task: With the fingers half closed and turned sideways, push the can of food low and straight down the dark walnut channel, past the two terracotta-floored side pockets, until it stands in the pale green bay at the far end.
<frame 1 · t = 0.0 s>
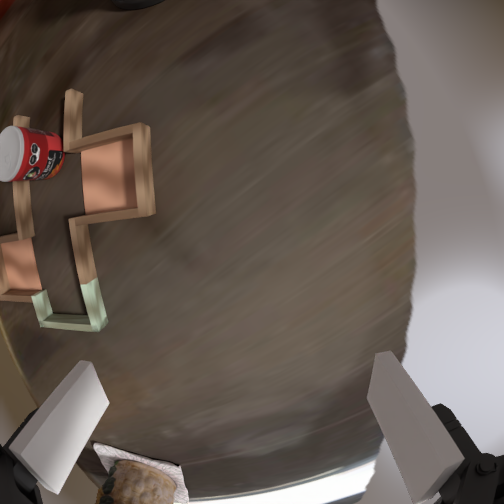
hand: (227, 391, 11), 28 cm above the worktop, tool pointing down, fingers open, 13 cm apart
canned food: (51, 156, 35), on the worktop
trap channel: (53, 208, 37), on the worktop
cookie jar: (144, 473, 53), on the worktop
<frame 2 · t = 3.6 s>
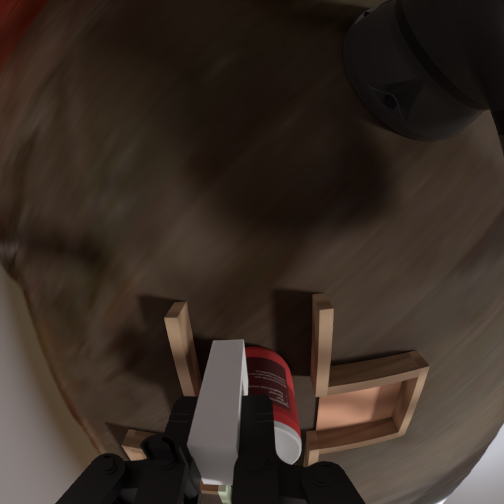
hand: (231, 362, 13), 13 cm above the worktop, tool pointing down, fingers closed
canned food: (255, 372, 28), on the worktop
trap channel: (259, 425, 30), on the worktop
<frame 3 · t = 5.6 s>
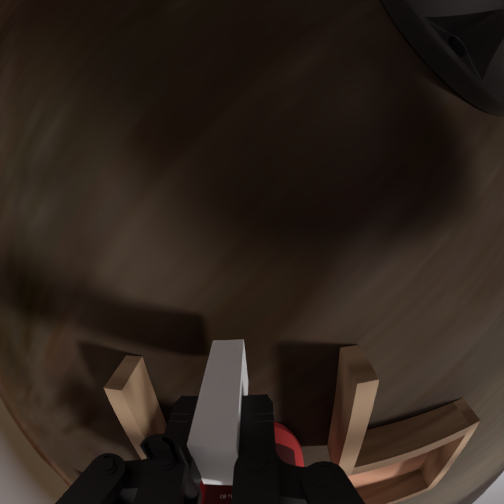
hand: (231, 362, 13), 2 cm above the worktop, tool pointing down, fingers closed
canned food: (250, 444, 18), on the worktop
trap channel: (257, 491, 20), on the worktop
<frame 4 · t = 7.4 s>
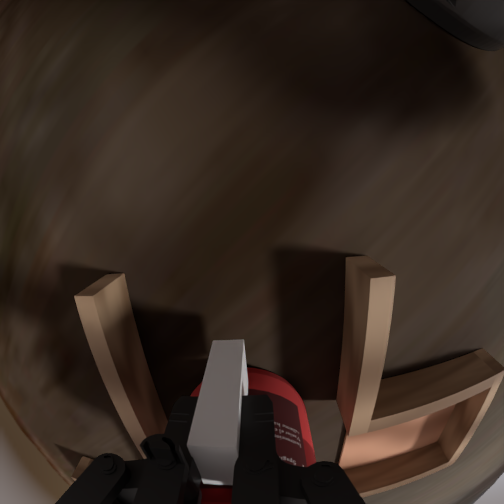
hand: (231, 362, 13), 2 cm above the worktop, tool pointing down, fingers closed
canned food: (246, 406, 17), on the worktop, touching gripper
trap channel: (256, 467, 18), on the worktop
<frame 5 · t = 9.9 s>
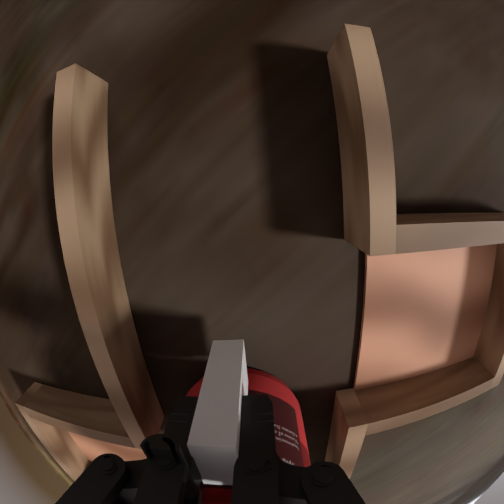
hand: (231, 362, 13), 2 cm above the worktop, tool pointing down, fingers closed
canned food: (242, 406, 17), on the worktop, touching gripper
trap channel: (241, 376, 16), on the worktop
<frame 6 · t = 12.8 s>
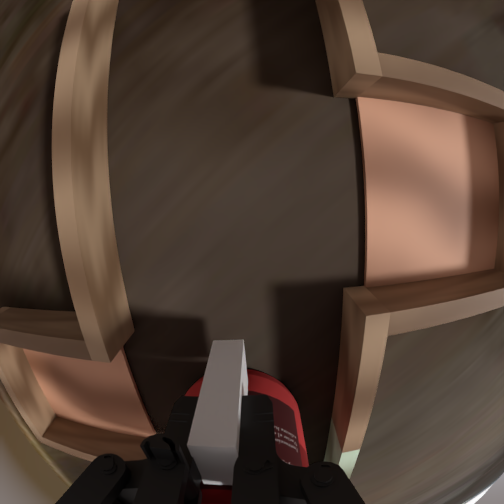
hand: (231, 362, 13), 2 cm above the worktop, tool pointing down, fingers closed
canned food: (240, 407, 17), on the worktop, touching gripper
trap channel: (226, 259, 14), on the worktop
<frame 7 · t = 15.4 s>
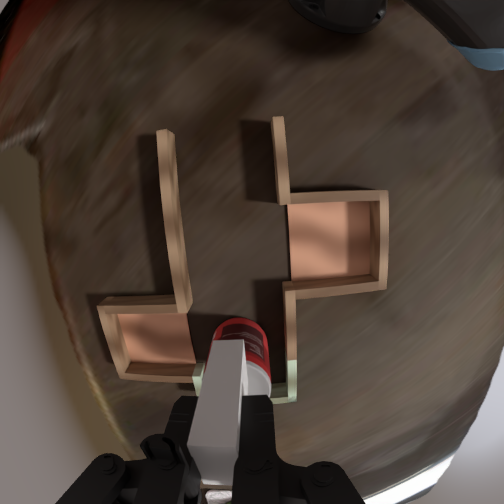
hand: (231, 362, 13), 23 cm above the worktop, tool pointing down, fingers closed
canned food: (240, 339, 38), on the worktop
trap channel: (234, 270, 36), on the worktop
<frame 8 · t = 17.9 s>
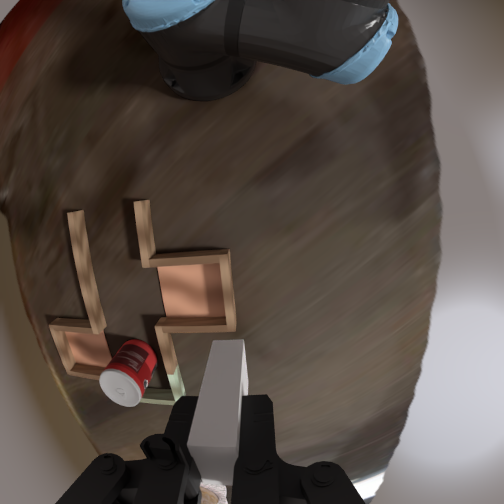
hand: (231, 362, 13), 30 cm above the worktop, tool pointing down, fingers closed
canned food: (140, 354, 48), on the worktop
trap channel: (128, 307, 46), on the worktop
cookie jar: (189, 491, 62), on the worktop
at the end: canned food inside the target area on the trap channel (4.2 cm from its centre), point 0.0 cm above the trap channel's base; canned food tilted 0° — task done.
